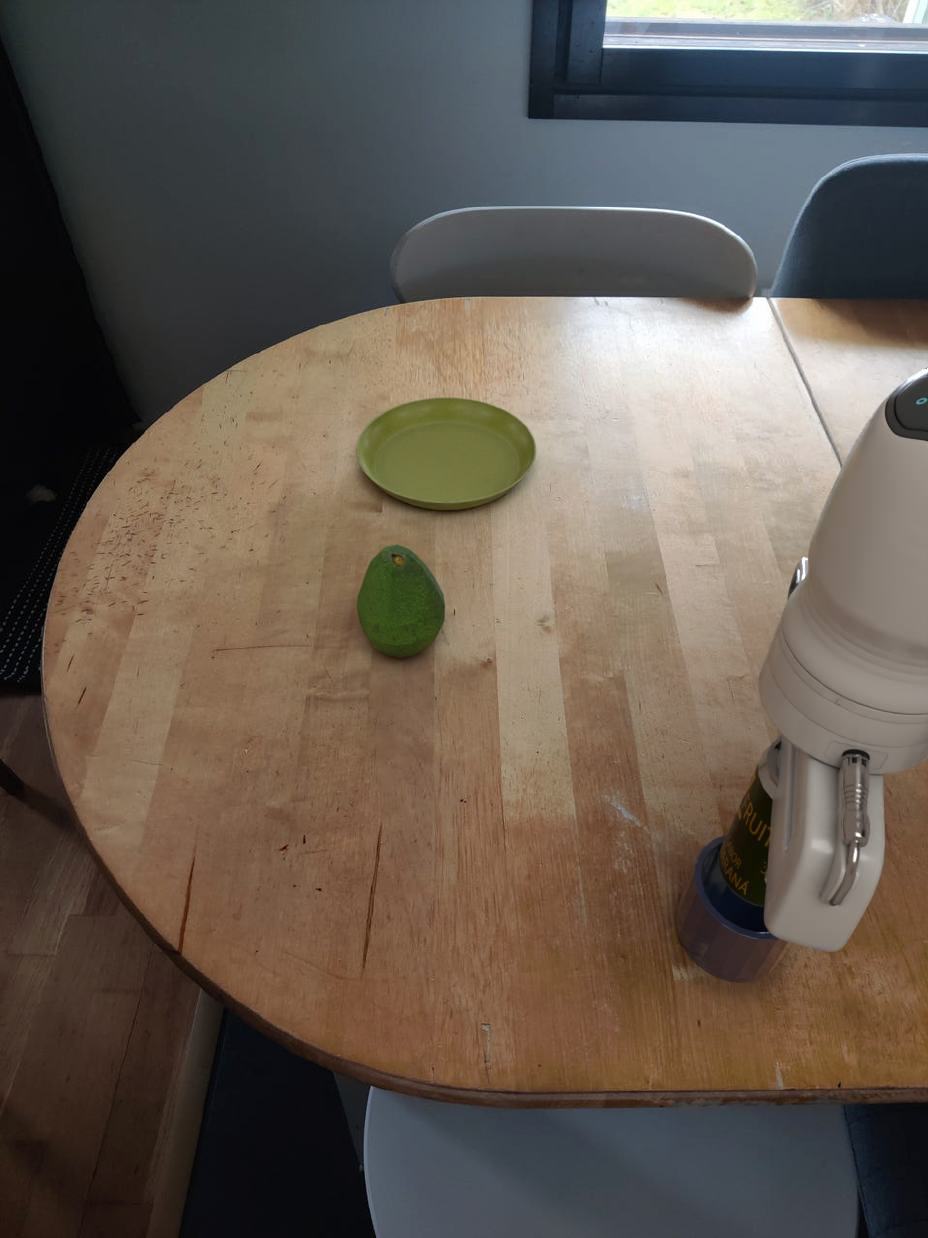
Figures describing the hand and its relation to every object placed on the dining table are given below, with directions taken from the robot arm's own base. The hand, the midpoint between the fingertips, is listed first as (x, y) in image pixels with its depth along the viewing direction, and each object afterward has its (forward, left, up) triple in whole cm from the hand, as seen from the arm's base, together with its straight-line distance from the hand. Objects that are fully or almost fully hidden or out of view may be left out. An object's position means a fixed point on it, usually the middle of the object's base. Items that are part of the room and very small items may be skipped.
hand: (782, 827), depth 52 cm
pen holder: (0, 0, -14) cm, 14 cm away
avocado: (+32, -19, -14) cm, 40 cm away
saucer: (+37, -47, -14) cm, 62 cm away
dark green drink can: (0, 0, -6) cm, 6 cm away
